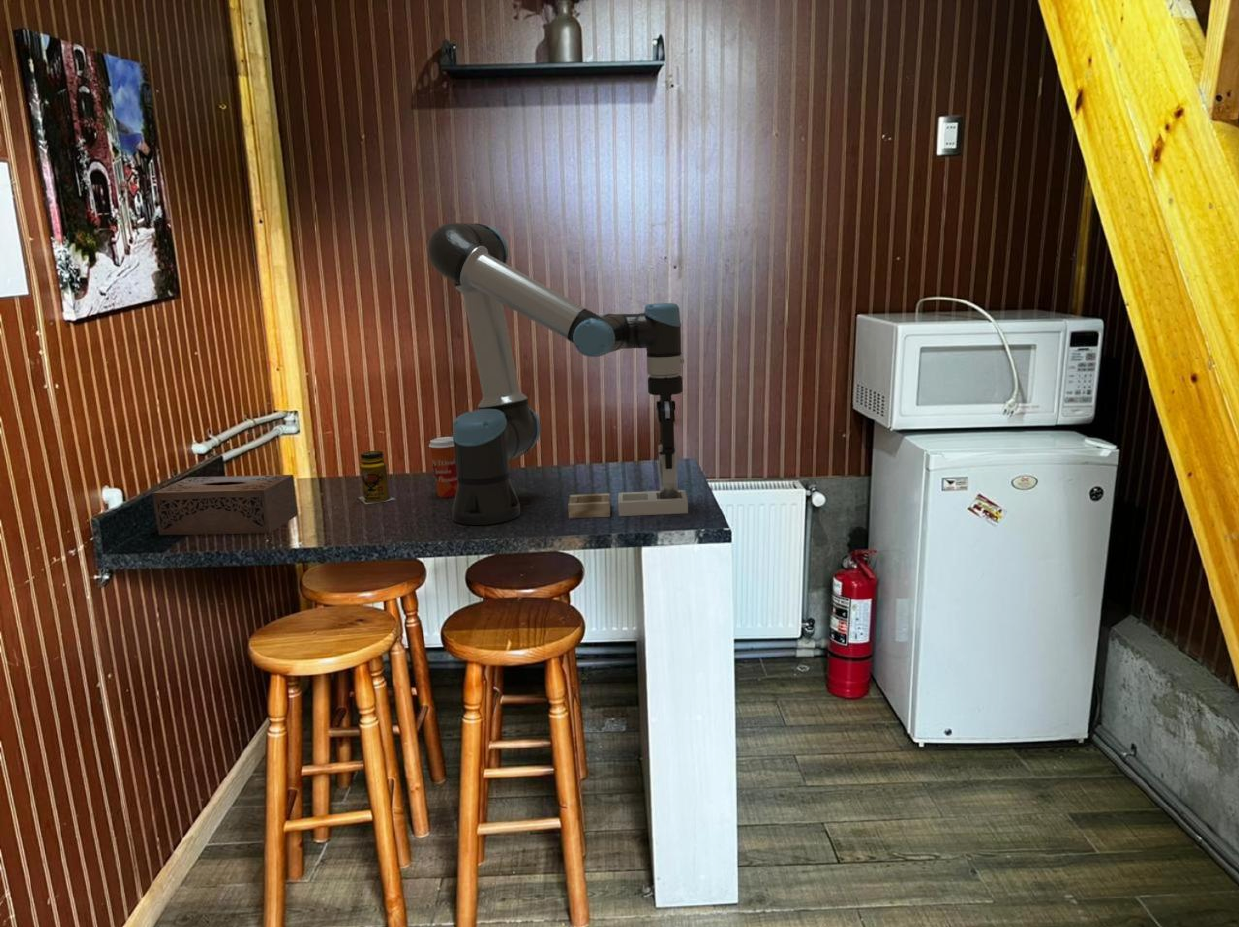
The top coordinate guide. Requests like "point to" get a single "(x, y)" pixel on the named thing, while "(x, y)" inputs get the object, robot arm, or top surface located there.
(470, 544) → the top surface
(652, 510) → the rack
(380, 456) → the condiment
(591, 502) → the socket block
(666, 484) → the grey peg
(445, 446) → the paper cup
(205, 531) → the tissue box cover
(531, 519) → the top surface
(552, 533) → the top surface
